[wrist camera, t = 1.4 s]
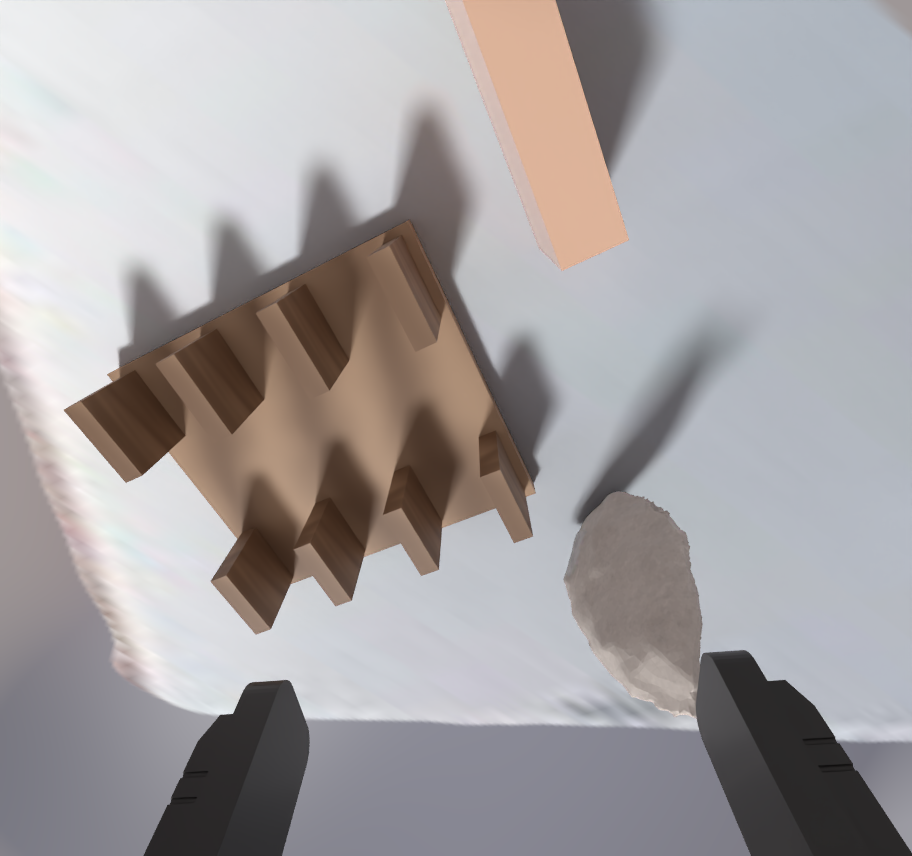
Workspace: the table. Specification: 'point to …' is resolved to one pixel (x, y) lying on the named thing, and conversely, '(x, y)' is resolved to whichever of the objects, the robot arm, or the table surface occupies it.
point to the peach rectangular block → (542, 124)
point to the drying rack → (322, 425)
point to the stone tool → (638, 600)
